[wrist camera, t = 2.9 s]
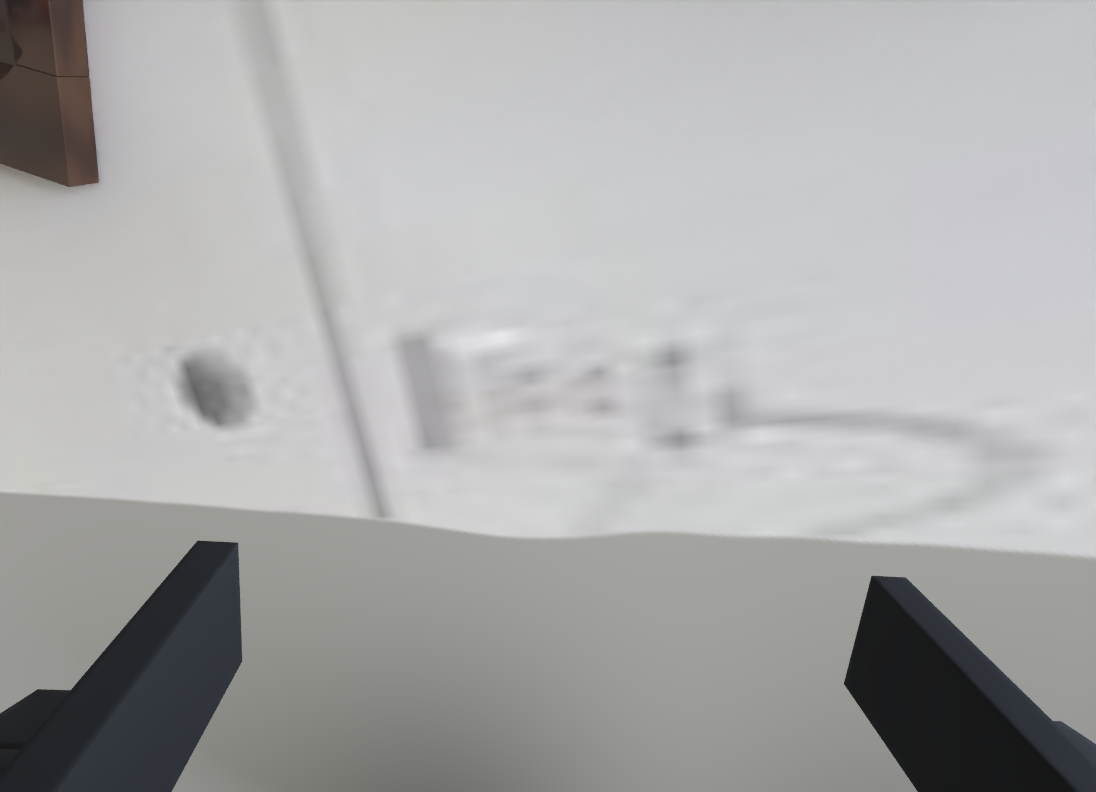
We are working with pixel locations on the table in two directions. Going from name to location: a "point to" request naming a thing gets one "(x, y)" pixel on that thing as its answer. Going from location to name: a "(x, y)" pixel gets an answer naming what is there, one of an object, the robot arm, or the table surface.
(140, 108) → the table surface
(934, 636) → the robot arm
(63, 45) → the can stand
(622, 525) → the table surface
